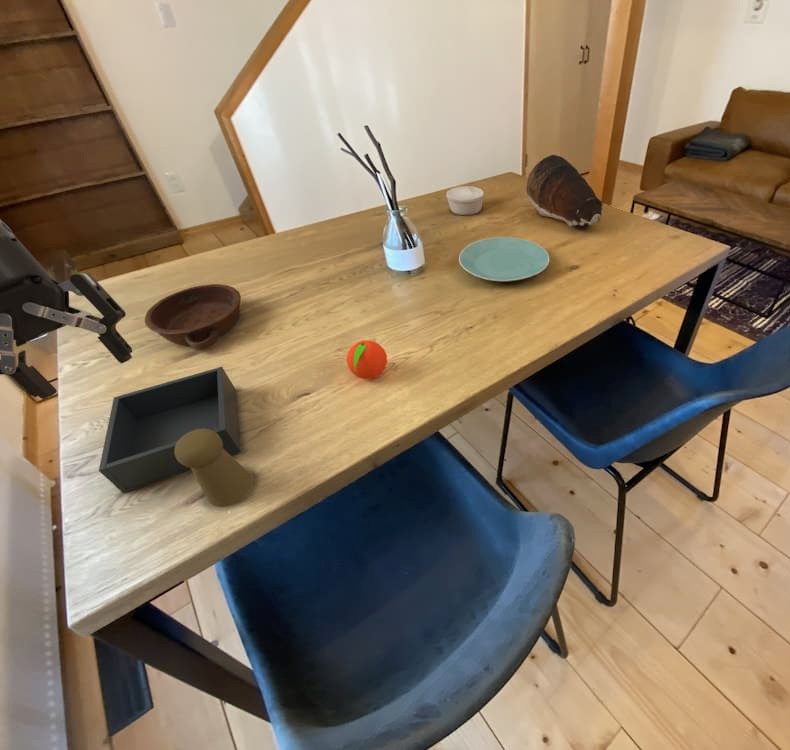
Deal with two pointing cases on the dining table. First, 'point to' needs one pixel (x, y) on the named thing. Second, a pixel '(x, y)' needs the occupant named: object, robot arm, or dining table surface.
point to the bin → (166, 427)
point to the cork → (213, 467)
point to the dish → (195, 315)
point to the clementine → (366, 359)
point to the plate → (504, 259)
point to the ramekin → (465, 200)
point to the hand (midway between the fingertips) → (89, 377)
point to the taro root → (562, 192)
